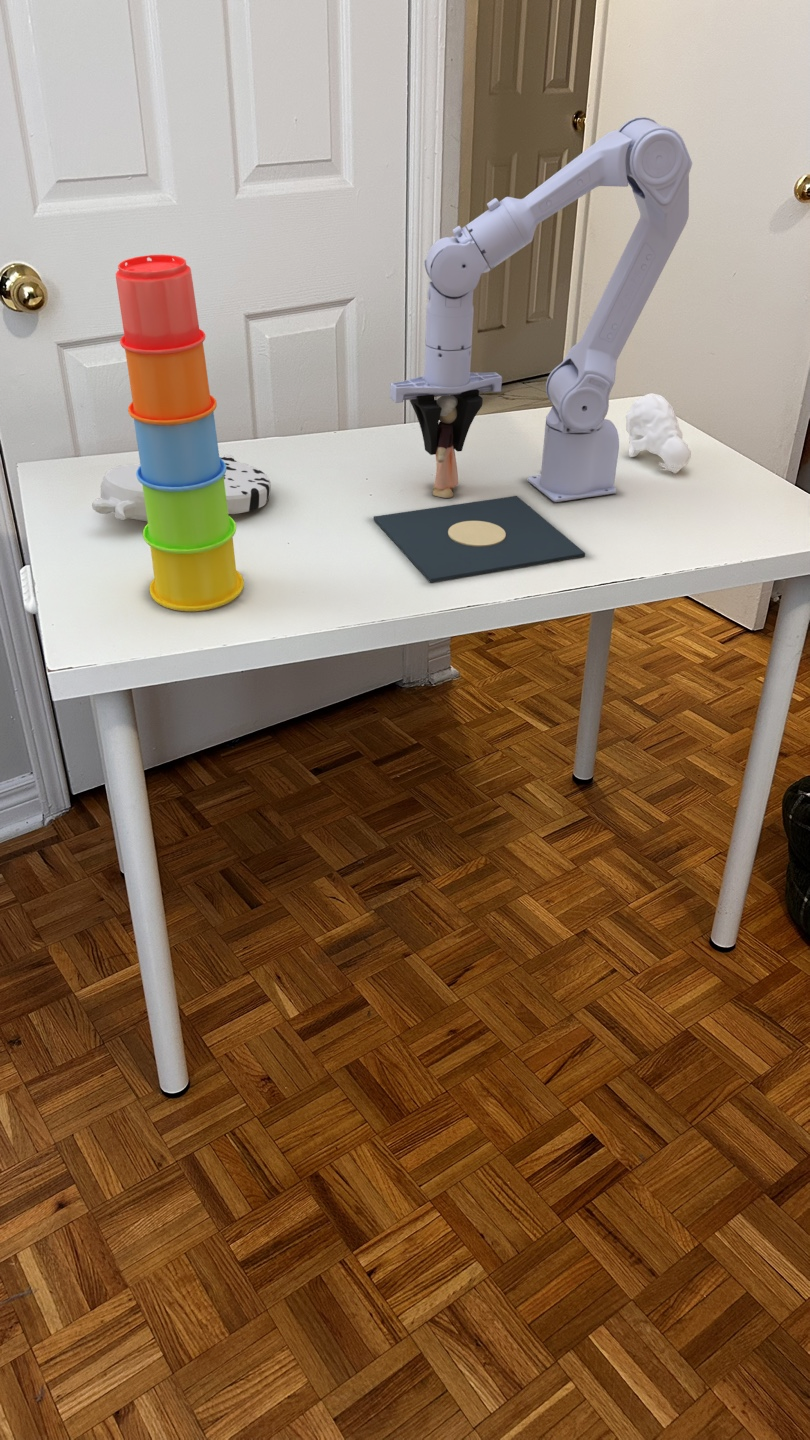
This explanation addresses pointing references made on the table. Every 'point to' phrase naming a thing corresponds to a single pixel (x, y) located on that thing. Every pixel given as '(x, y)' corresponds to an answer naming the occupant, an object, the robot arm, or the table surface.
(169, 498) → the stacking cups
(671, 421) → the white lumpy figurine
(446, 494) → the grandmother figurine
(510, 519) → the display mat
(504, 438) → the table surface
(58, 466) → the table surface
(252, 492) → the toy
